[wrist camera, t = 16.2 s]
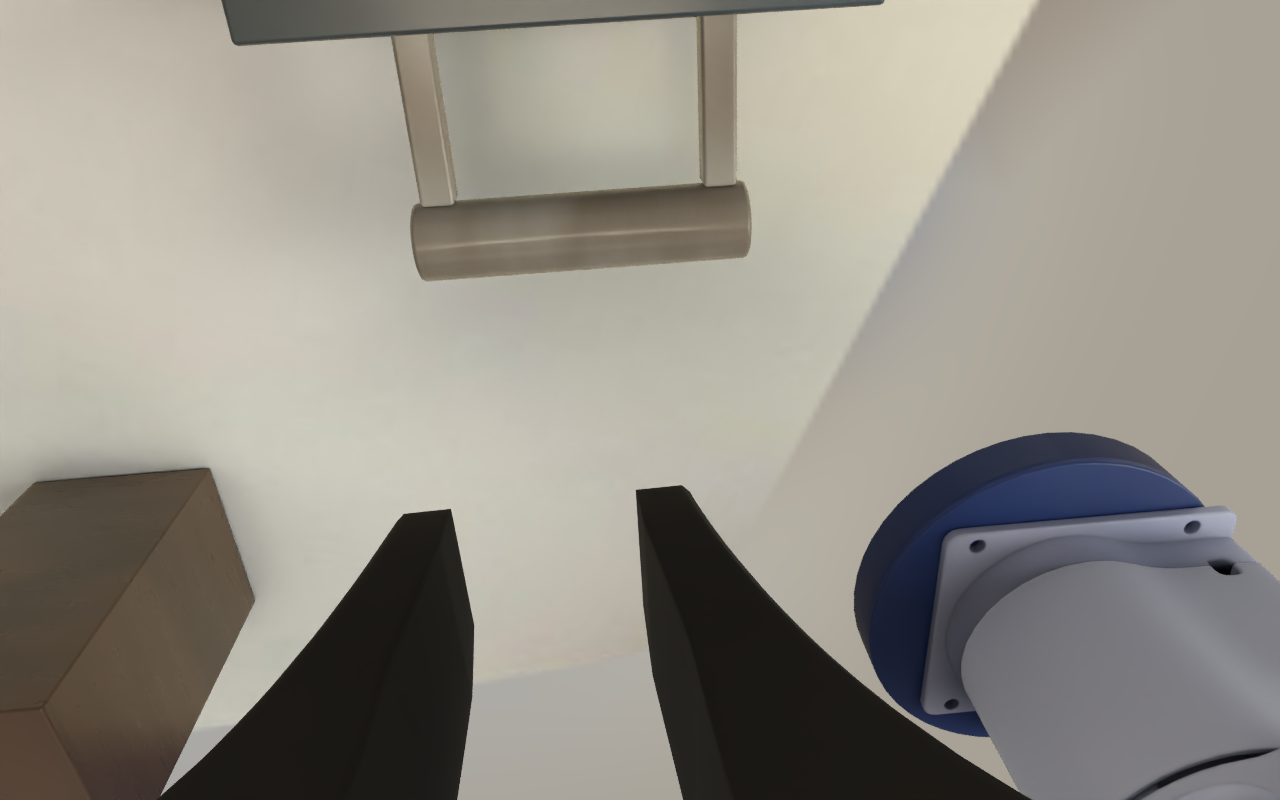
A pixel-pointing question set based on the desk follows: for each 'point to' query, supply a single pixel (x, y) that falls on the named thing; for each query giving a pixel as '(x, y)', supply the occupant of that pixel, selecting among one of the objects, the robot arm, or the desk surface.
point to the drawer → (549, 223)
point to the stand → (111, 630)
